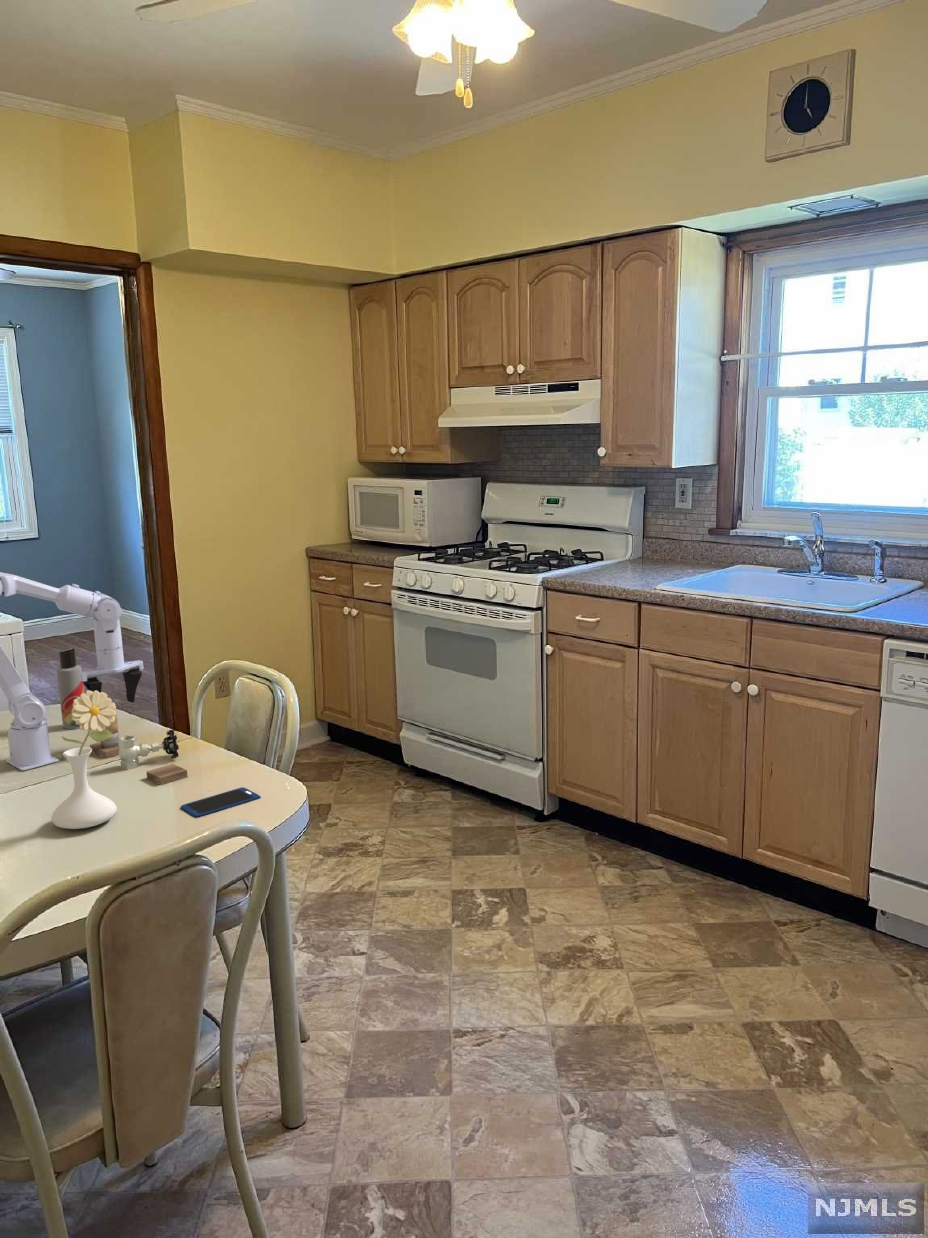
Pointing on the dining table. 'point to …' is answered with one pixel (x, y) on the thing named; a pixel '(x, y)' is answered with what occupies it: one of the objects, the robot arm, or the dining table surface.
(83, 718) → the flower in vase
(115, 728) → the marker peg
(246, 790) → the cell phone
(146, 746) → the valve
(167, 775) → the blocks
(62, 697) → the lotion bottle
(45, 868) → the dining table surface
